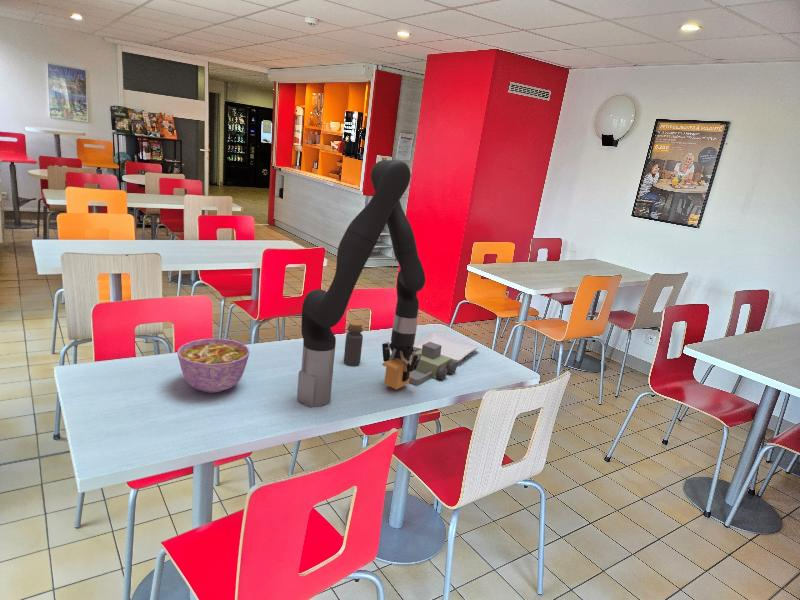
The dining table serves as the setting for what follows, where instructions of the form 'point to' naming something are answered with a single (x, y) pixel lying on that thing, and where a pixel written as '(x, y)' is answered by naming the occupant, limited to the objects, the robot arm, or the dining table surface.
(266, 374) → the dining table surface
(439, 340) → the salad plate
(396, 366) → the orange box
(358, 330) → the bottle
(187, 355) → the bowl of food
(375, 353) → the dining table surface
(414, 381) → the green boxy vehicle
